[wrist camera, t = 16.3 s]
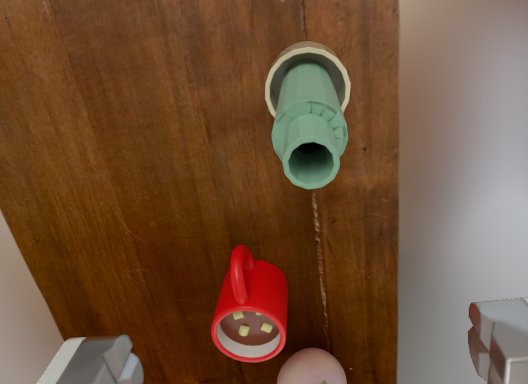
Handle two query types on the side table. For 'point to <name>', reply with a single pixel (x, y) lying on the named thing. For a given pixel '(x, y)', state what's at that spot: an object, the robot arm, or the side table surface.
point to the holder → (307, 52)
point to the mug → (251, 309)
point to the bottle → (309, 125)
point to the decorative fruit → (312, 368)
